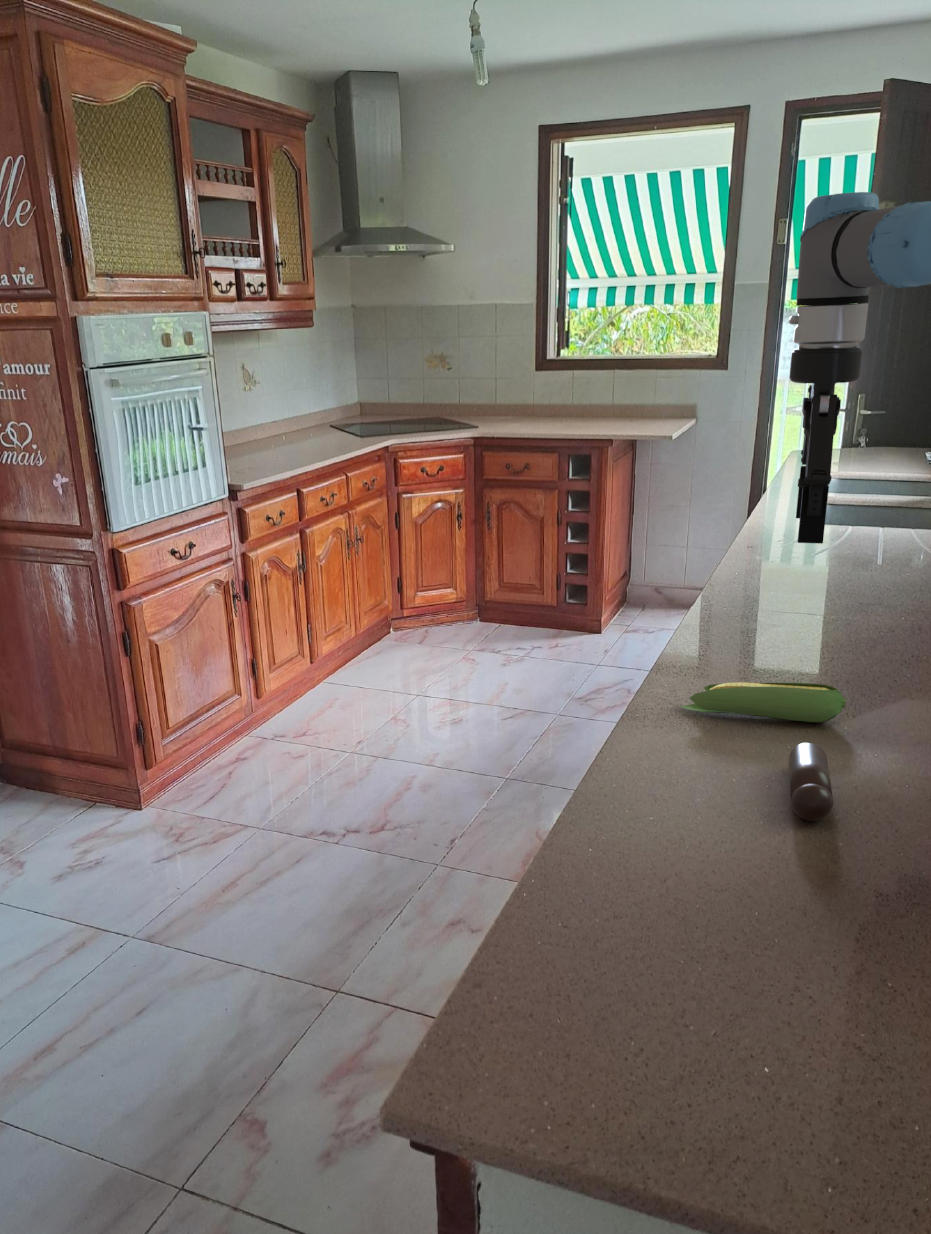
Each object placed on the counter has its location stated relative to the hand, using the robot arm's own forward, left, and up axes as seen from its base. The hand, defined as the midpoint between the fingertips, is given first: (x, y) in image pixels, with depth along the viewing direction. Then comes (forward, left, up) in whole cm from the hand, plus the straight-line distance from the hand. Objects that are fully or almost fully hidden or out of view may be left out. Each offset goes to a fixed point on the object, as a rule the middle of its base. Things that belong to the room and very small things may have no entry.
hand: (808, 529), depth 118 cm
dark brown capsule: (-1, +25, -24) cm, 34 cm away
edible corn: (+4, +3, -24) cm, 24 cm away
